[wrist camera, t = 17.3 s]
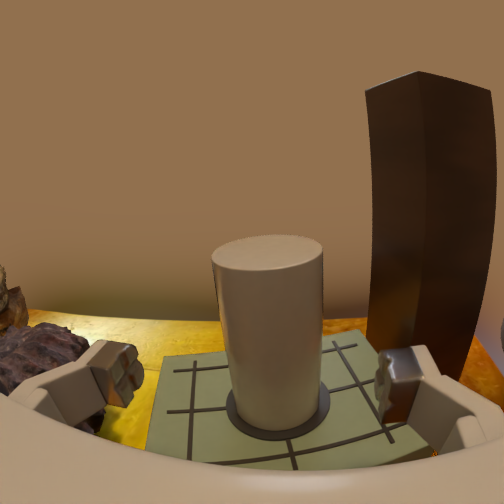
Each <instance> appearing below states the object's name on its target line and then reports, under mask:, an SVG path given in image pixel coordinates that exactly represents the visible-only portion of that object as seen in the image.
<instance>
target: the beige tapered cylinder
mask: <svg viewBox="0 0 504 504" xmlns="http://www.w3.org/2000/svg"><path fill="white" fill-rule="evenodd" d="M211 260H212V267H213V273H214V281H215V288H216V294H217V301H218V308H219V314H220V320H221V327H222V333H223V339H224V345H225V351H226V357H227V362H228V368H229V374H230V379H231V385H232V390H233V396H234V401H235V406H236V410H237V413H238V414H239V416H240V417H241V418H242V419H243V420H244V421H245V422H246V423H248V424H250V425H251V426H254V427H256V428H259V429H263V430H269V431H281V430H287V429H291V428H294V427H297V426H299V425H301V424H303V423H305V422H306V421H307V420H309V419H310V418H311V417H312V416H313V415H314V413H315V412H316V410H317V408H318V406H319V400H320V384H321V365H322V338H323V248H322V246H321V244H320V243H319V242H317V241H315V240H313V239H309V238H306V237H301V236H294V235H265V236H264V235H263V236H255V237H249V238H244V239H239V240H236V241H232V242H230V243H227V244H225V245H222V246H220V247H219V248H217V249H216V250H215V251H214V252H213V253H212V256H211Z"/></svg>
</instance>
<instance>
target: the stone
mask: <svg viewBox="0 0 504 504" xmlns="http://www.w3.org/2000/svg"><path fill="white" fill-rule="evenodd" d="M8 292H9V293H8V294H9V300H8V302H7V304H6V306H5V308H3V309H2V311H0V336H5V334H6V332H7V330H8V328H9V326H12V325H14V326H15V327H16V328H17V329H20V328H22V327H24V326H27V324H28V320H29V315H28V311H27V308H26V303H25V298H24V296H23V294H22V292H21V288H20V286H18V287H15V288H12V289H10V290H8Z"/></svg>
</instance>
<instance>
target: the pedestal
mask: <svg viewBox="0 0 504 504" xmlns="http://www.w3.org/2000/svg"><path fill="white" fill-rule="evenodd" d="M365 96H366V104H367V113H368V124H369V137H370V151H371V168H372V169H371V170H372V203H373V204H372V208H373V216H372V217H373V218H372V221H373V223H372V225H373V227H372V264H371V282H370V297H369V310H368V320H367V330H366V339H367V341H368V342H369V343H370V345H371V346H372V347H373V349H374V350H375V351H376V352H377V354H378V355H379V352H380V350H387V349H398V348H408V347H411V346H418V345H425V346H426V347H427V349H428V350H429V352H430V354H431V356H432V358H433V360H434V362H435V364H436V366H437V368H438V370H439V372H440V374H441V376H443V375H446V376H448V377H450V378H452V379H453V380H455V381H457V382H458V381H459V378H460V375H461V373H462V370H463V367H464V364H465V361H466V358H467V355H468V352H469V349H470V346H471V342H472V339H473V336H474V332H475V328H476V325H477V321H478V317H479V313H480V309H481V305H482V300H483V296H484V291H485V286H486V281H487V276H488V269H489V264H490V257H491V249H492V242H493V233H494V223H495V209H496V187H497V162H496V137H495V124H494V114H493V105H492V97H491V91H490V90H487V89H484V88H481V87H478V86H475V85H471V84H468V83H465V82H462V81H458V80H454V79H450V78H447V77H443V76H439V75H434V74H430V73H426V72H421V71H415V72H412V73H410V74H406V75H404V76H401V77H398V78H396V79H393V80H390V81H388V82H385V83H382V84H380V85H377V86H374V87H372V88H369V89H367V90H365Z"/></svg>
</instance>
